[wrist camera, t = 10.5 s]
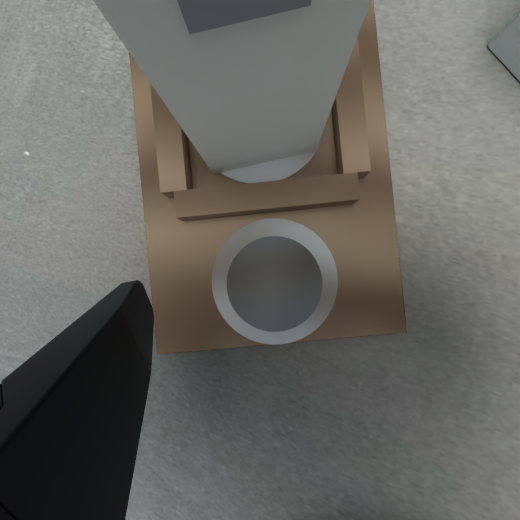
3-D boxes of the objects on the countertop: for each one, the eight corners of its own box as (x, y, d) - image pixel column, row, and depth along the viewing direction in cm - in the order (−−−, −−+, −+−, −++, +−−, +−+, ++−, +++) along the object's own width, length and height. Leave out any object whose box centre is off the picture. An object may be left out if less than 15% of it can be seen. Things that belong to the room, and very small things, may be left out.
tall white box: (316, 153, 19) (414, -109, 6) (213, 176, 19) (72, -26, 6) (293, 47, 19) (334, -459, 6) (191, 71, 19) (2, -366, 6)
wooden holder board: (400, 328, 20) (426, 343, 16) (162, 349, 20) (139, 368, 17) (368, 12, 20) (387, -42, 16) (134, 40, 20) (105, -6, 17)
